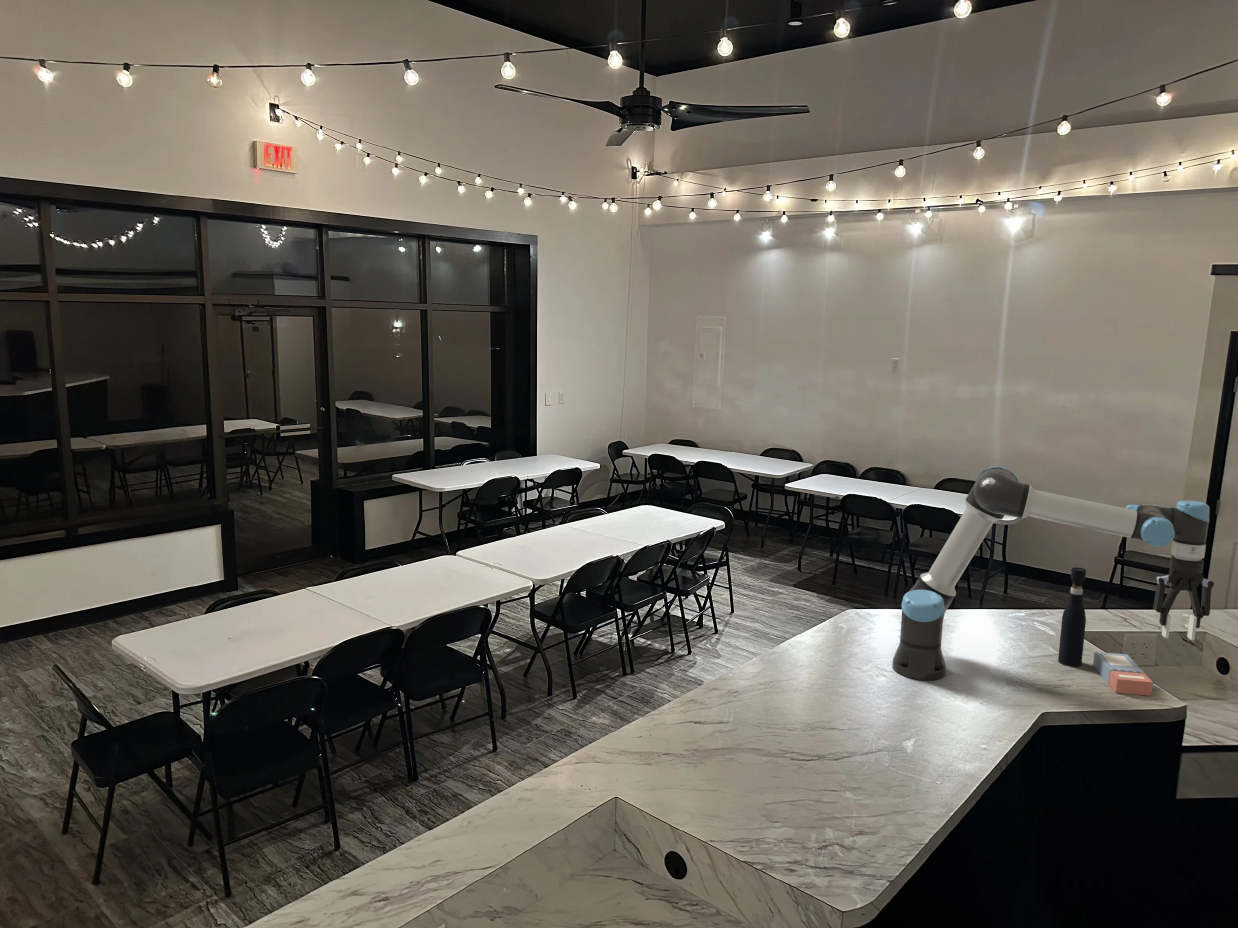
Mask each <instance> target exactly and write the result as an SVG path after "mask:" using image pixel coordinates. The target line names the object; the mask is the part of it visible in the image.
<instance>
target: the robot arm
mask: <svg viewBox="0 0 1238 928" xmlns="http://www.w3.org/2000/svg"><path fill="white" fill-rule="evenodd" d="M964 502H965V506H966V508H965V510H964V511H963V513H962V515H961V517H960V518H959V520H958V522H957V523H956V525H955V527H954V529H953V530H952V531H951V533H950V536H949V537H948V539H947V540H946V542H945V543H944V545H943V547H942V548H941V550H940V552H939V554H938V556H937V557H936V559H935V561H934V562H933V564H932V565H931V567H930V569H929V571H927V572H924V573H921V574H920V575H919V577H918V579H917V580H916V583H915V584H914V585H913V586H912V587H911V588H910V590H909V591H907V592H906V593H904V595H903V596H902V597H903V598H902V602H901V620H900V635H899V638H900V640H899V644H898V647H897V649H896V652H895V654H894V656H893V658H892V664H891V665H892V666H891V667H892V669H893V670H894V671H895V672H896V673H898V674H899V675H901V676H902V677H903V676H904V677H907V678H910V679H914V680H922V681H935V680H939V679H942V678H944V677H945V676H946V672H947V667H946V661H945V658H944V654H943V651H942V641H943V640H942V639H943V625H944V619H945V614H946V612H947V611H948V608H949V606H950V605H951V604H952V602H953V600H954V599H955V597H956V595H957V591H956V588H955V586H956V585H957V583H958V582H959V580H960V578H961V577H962V575H963V574H964V571H965V570H966V569H967V567H968V565H969V564H970V562H971V560H972V558H973V557H974V555H976V552H977V550H978V549H979V548H980V546H981V544H982V542H983V541H984V539H985V538H986V536H987V535H988V533H989V531H990V529H991V528H992V526H993V524H994V523H995V522H997V521H1001V520H1003V519H1004V517H1005V516H1006V517H1007V516H1008V517H1012V518H1017V519H1018V518H1019V519H1025V518H1026V517H1032V518H1035V519H1040V520H1045V521H1049V522H1054V523H1059V524H1063V525H1064V524H1065V525H1069V526H1073V527H1077V528H1081V529H1082V528H1083V529H1087V530H1091V531H1096V532H1100V533H1105V534H1106V533H1107V534H1109V535H1110V534H1111V535H1114V536H1115V535H1116V536H1120V537H1123V538H1129V539H1131V540H1137V541H1140V542H1141V541H1142V542H1144V543H1145V544H1148V545H1149V546H1150V547H1151V546H1152V547H1157V548H1158V547H1159V548H1160V547H1164V546H1167V545H1169V544H1170V543H1171V542H1172V544H1171V551H1170V553H1171V556H1170V562H1169V571H1168V573H1167V574H1166V575H1163V576H1160V575H1156V576H1155V581H1156V589H1155V595H1154V600H1153V605H1152V609H1153V610H1154V611H1156V612H1157V614H1158V613H1159V624H1160V626H1162V628H1161V636H1162V637H1164V639H1169V638H1170V637H1169V636H1170V628H1171V620H1172V615H1170V614H1169V613H1170V610H1171V609H1172V607H1173V605H1174V603H1175V601H1176V599H1177V597H1178V594H1179V595H1180V592H1181V591H1187V592H1188V594H1189V595H1188V596H1189V600H1190V604H1191V610H1192V614H1189V617H1188V620H1189V621H1188V627H1187V636H1186V637H1187V638H1188V639H1189V640H1191V641H1195V639H1196V632H1197V631H1196V630H1197V629H1200V626H1201V621H1202V620H1201V619H1203V618H1204V617H1209V616H1210V614H1211V602H1212V601H1211V599H1212V590H1213V587H1214V585H1215V582H1214V581H1213V580H1211V579H1209V578H1204V576H1203V571H1204V570H1203V569H1204V563H1205V561H1204V560H1203V559H1204V558H1205V555H1206V554H1205V553H1206V546H1207V538H1208V537H1207V536H1208V529H1209V523H1210V509H1211V508H1210V506H1209V505H1208V504H1207V503H1205V502H1203V501H1197V500H1179V501H1177V504H1176V505H1175V507H1174V506H1172V507H1166V506H1155V505H1147V504H1146V505H1143V504H1128V505H1126V506H1125V507H1119V506H1115V505H1110V504H1105V503H1100V502H1096V501H1091V500H1086V499H1082V498H1076V497H1071V496H1066V495H1060V494H1056V493H1052V492H1048V491H1043V490H1042V491H1041V490H1037V489H1034V488H1033V487H1032V484H1025V483H1022V482H1019V480H1018V478H1017V476H1016V475H1015V474H1014V473H1013V471H1011V470H1010V469H1008V468H1005V467H1003V466H990V467H987V468H985V469H983V470H982V471H981V472H979V474H978V476H977V477H976V479H975V482H974V484H973V486H972V488H971V489H970V491H969V493H968V494H967V496H966V497H965V500H964ZM1168 581H1169V583H1170V586H1169V587H1168V588H1169V590H1168V592H1167V595H1166V596H1165V591H1166V584H1168ZM1199 585H1201V586H1202V588H1201V601H1200V600H1199V595H1198V590H1197V588H1198V587H1199ZM1164 597H1165V599H1164ZM1200 602H1201V604H1200Z"/></svg>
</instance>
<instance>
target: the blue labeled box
mask: <svg viewBox="0 0 1238 928" xmlns="http://www.w3.org/2000/svg"><path fill="white" fill-rule="evenodd" d="M1092 666H1093V667H1094V668H1095V669H1096V671H1097V672H1098V673H1099V674H1100V676H1101V677H1102V678H1103V679H1104V681H1105V682H1106V683H1107V684H1108V685H1109V676H1110V671H1120V672H1131V673H1142V674H1145V672H1144V671H1143V669H1141V668H1140V666H1139V665H1138V664H1137V663H1136V662H1135V661H1134V660H1133V659H1132V658H1131V657H1130V656H1129V655H1128V654H1127V653H1125V654H1124V653H1116V652H1115V653H1114V652H1104V651H1103V652H1102V651H1094V652H1093V661H1092Z"/></svg>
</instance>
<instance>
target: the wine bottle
mask: <svg viewBox="0 0 1238 928" xmlns="http://www.w3.org/2000/svg"><path fill="white" fill-rule="evenodd" d="M1086 573H1087V569H1085V568H1082V567H1078V566H1077V567H1071V572H1070V580H1072V586H1071V587H1070V592H1069V593H1068V594H1069V595H1068V602H1067V603H1066V605H1065V607H1064V609H1063V612H1062V617H1061V625H1060V626H1061V627H1060V637H1059V638H1060V639H1059V646H1058V647H1059V648H1058V659H1057V662H1058V663H1059V664H1061V665H1063V666H1066V667H1070V668H1073V667H1074V668H1078V667H1081V666H1082V663H1083V654H1084V653H1083V652H1084V645H1085V642H1084V641H1085V634H1086V633H1085V632H1086V623H1087V620H1086V611H1085V607H1084V594H1083V593H1084V590H1083V582H1085V581H1086Z"/></svg>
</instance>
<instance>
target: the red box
mask: <svg viewBox="0 0 1238 928" xmlns="http://www.w3.org/2000/svg"><path fill="white" fill-rule="evenodd" d="M1108 685H1109V686H1110V687H1111V688H1112V690H1113V691H1114V692H1115V693H1119V694H1127V695H1138V696H1140V695H1141V696H1147V697H1148V696H1150V697H1151V696H1152V693H1153V685H1154V682H1153V681H1152V679H1151V678H1150V677H1149V676H1147V674H1146V673H1144V674H1142V673H1131V672H1120V671H1110V676H1109V684H1108Z"/></svg>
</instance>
